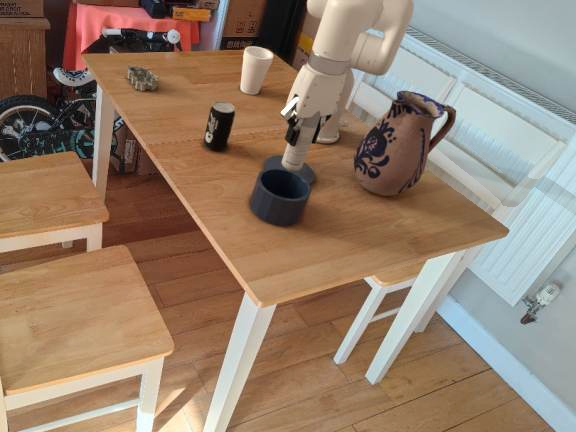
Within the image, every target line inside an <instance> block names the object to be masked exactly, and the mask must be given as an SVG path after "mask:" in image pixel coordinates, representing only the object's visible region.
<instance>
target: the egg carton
mask: <svg viewBox="0 0 576 432" xmlns="http://www.w3.org/2000/svg"><path fill="white" fill-rule="evenodd" d="M127 79H128V80H131V85H135V89H136V90H137V91H141V92H145V91H146V90H150V91H155V89H157V85H158V81H160V78H159V76H158V75H156V74H155V73H153V72H152V71H150V69H149V70H148V67H146V66H144V67H142V66H140V65H139V66H130V65H127Z"/></svg>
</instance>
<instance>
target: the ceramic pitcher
mask: <svg viewBox="0 0 576 432" xmlns="http://www.w3.org/2000/svg"><path fill="white" fill-rule="evenodd" d="M445 112H446V114H447V118H446V119H445V120H446V121H445V123H444V124H443V125H442V126H441V128H439V130H438V131H437V132H436V133H435V134H434V136H432V131H433V125H434V122H435V121H436V120H437V119H440V118H442V117H443V116H444V115H445ZM456 119H457V110H456V109H455V108H454V107H453V106H451V105H449V104H443V103H440V102H438V101H437V100H435V99H433V98H431V97H429V96H428V95H425V94H422V93H419V92H415V91H409V90H399V91H397V92H396V99H393V100H392V101H391V105H390V107H389V109H388V110H387V111H386V112H385V113H384V114H383V115H381V116H380V117H379V118H378V119H377V120H375V121H376V122H375V123H374V124H373V125H372V126H371V127H370V128H369V130H368V131H367V132H366V133H365V135H364V136H363V137H362V139H361V140H360V141H359V143H358V145H357V147H356V149H355V151H354V154H353V159H352V169H353V172H354V175H355V177H356V179H357V181H358V182H359V184H360V185H361V186H362V187H363V188H364V189H365V190H367V191H368V192H370V193H373V194H376V195H379V196H384V197H388V196H397V195H400V194H402V193H404V192H407V191H408V190H409V189H411V188H413V187H414V186H415V185H416V184H417V183H418V182H419V180H420V179H421V177H422V176H423V174H424V171H425V169H426V165H427V162H428V157H429V154H430V153H431V152H432V151H433V150H434V148H435V147H436V146H437V145H438V144H440V142H442V141H443V139H444V138H445V137H446V136H447V134H448V133H449V132H450V131H451V129H452V128H453V126H454V125H455V123H456Z"/></svg>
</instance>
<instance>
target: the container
mask: <svg viewBox="0 0 576 432" xmlns="http://www.w3.org/2000/svg"><path fill="white" fill-rule="evenodd" d="M319 119H320V111H318V112H316V113H315V114H314V115H313V116H312V117H309V118H305V119H304V121H303V122H302V124H301V126H300V128H299V130H300V134H299V137H298V139H297V142H296V145H295V146H293V147H292V146H291V145H290V144H289V143H288V142H287V143H286V148H285V150H284V154H283V155H284V156H283V159H282V162H281V163H282V165H283V167H285V168H286V169H288V170H291V171H299V170H301V168H302V166H303V163H305V160H306V157H307V155H308V152H309V150H310V147H311V144H312V143H311V142H312V139H313V136H314V134H315V131H316V128H317V125H318V122H319ZM297 120H298V117H296V119H295V121H297Z"/></svg>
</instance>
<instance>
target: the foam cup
mask: <svg viewBox="0 0 576 432" xmlns="http://www.w3.org/2000/svg"><path fill="white" fill-rule="evenodd" d="M242 58H243V59H242V66H241V77H240V86H239V87H240V88H239V90H240V91H241V92H242V93H244V94H247V95H251V96H254V95H258V94H259V92H260V91H261V89H262V86H263V83H264V81H265V79H266V77H267V75H268V72H269V69H270V68H271V65H272V63H273V61H274V54H273V52H272V51H271V50H269V49H267V48H263V47H261V46H254V45H253V46H246V47H245V48H244V51H243V56H242Z"/></svg>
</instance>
